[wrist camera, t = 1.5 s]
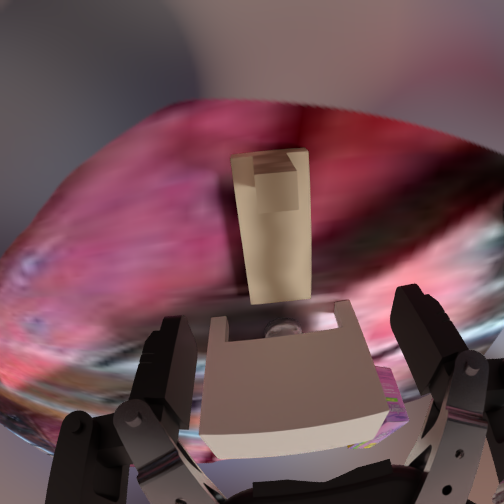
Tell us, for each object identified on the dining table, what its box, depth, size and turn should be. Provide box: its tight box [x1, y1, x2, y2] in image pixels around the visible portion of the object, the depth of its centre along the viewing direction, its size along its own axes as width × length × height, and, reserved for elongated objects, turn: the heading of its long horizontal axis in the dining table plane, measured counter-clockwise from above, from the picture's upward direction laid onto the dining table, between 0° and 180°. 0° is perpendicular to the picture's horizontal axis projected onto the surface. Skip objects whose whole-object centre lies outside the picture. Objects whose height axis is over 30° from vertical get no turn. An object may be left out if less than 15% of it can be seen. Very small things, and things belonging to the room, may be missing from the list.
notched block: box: [199, 300, 390, 459], centre depth 32 cm, size 19×8×16 cm, turn 98°
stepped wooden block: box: [230, 148, 311, 305], centre depth 28 cm, size 7×17×8 cm, turn 6°
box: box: [347, 366, 409, 449], centre depth 42 cm, size 10×6×12 cm, turn 158°
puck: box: [265, 318, 302, 338], centre depth 38 cm, size 5×5×2 cm
